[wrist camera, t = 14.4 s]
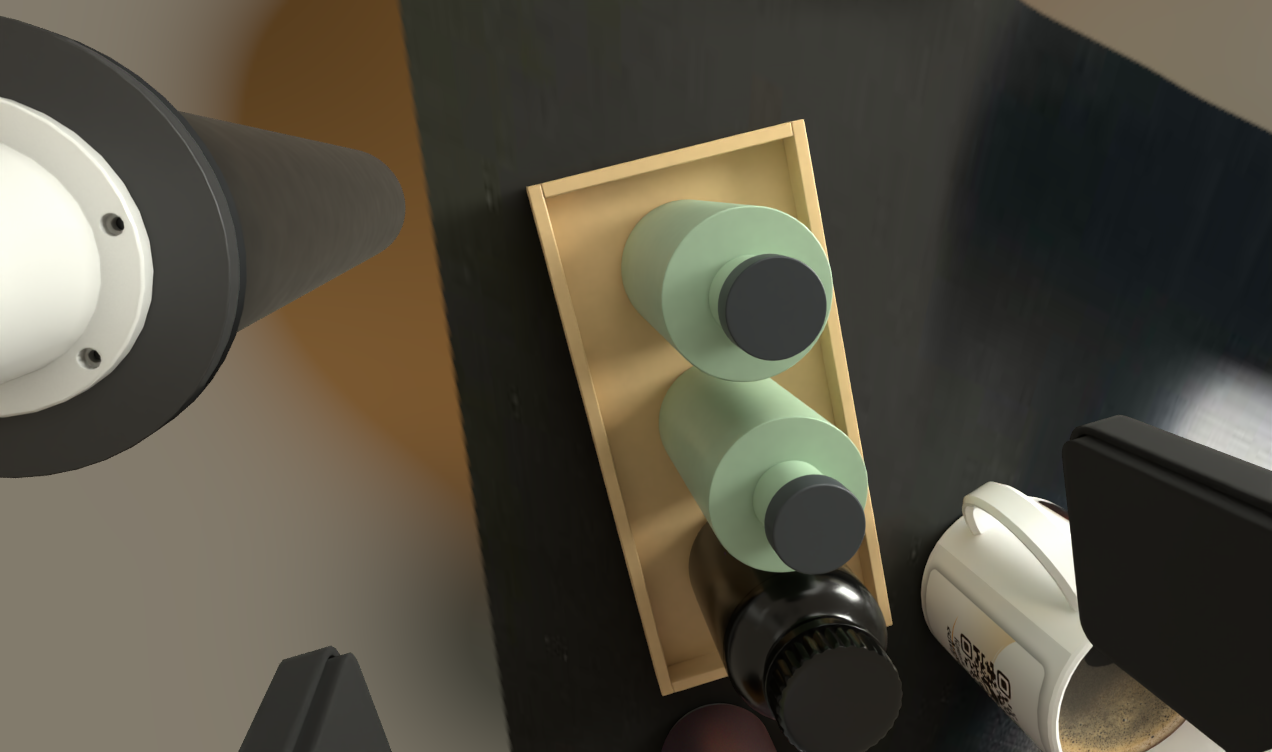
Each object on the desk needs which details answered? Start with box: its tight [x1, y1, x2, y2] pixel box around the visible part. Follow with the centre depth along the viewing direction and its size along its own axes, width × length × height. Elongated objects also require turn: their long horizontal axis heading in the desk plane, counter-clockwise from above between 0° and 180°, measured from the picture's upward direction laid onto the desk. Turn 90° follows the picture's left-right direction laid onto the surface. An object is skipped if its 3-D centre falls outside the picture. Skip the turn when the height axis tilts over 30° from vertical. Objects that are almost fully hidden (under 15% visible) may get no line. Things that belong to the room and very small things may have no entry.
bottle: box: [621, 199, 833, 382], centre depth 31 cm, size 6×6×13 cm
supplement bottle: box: [689, 521, 903, 752], centre depth 35 cm, size 7×7×12 cm
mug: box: [921, 482, 1226, 752], centre depth 39 cm, size 10×12×11 cm
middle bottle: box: [659, 366, 868, 574], centre depth 33 cm, size 6×6×13 cm
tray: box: [526, 119, 892, 696], centre depth 39 cm, size 12×25×2 cm, turn 13°
